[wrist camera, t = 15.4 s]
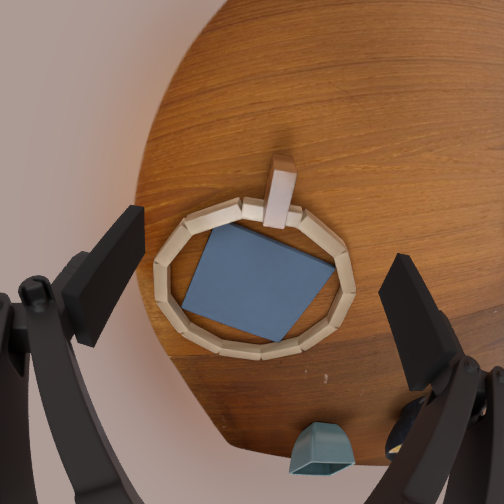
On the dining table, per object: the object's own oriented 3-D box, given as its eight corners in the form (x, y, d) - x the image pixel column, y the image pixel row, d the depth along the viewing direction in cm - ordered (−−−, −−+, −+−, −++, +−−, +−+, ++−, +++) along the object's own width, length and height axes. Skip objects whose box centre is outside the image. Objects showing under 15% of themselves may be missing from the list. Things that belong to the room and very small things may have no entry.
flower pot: (352, 420, 47) (357, 463, 40) (328, 437, 52) (329, 476, 44) (310, 415, 46) (311, 461, 39) (288, 432, 51) (287, 474, 43)
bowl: (372, 431, 50) (377, 474, 42) (390, 390, 41) (401, 444, 33) (445, 415, 48) (455, 454, 40) (476, 370, 39) (494, 417, 30)
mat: (182, 304, 33) (180, 308, 33) (218, 216, 27) (217, 219, 27) (279, 339, 35) (279, 343, 35) (335, 265, 29) (335, 269, 29)
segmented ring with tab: (159, 137, 23) (141, 151, 19) (394, 181, 24) (413, 201, 20) (161, 335, 36) (153, 361, 33) (317, 357, 37) (320, 383, 34)
